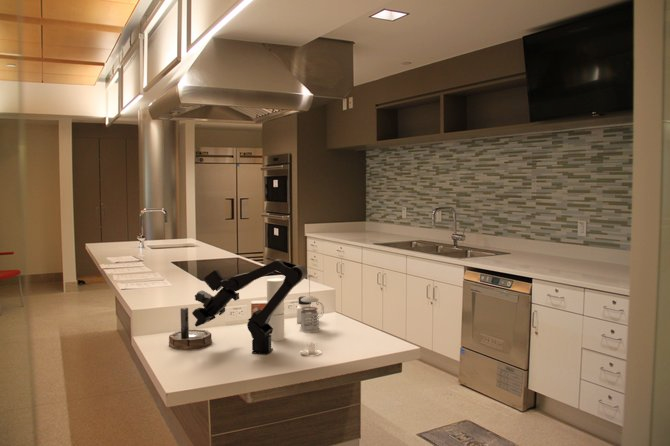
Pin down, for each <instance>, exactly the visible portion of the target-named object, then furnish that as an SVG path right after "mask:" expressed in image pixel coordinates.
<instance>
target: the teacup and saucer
mask: <svg viewBox="0 0 670 446" xmlns="http://www.w3.org/2000/svg"><path fill="white" fill-rule="evenodd" d="M306 345H307V349H304V350H302V349H301V350H300V351H299V354H300V355H302V356H307V357H310V356H311V357H315V356H319V355H322V351H321V350H320V349H317V348H318V343H316V342H314V341H309V342H306ZM315 352H318V353H317V354H316V353H315Z"/></svg>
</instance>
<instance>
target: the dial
mask: <svg viewBox="0 0 670 446" xmlns="http://www.w3.org/2000/svg"><path fill="white" fill-rule="evenodd" d="M189 325H190V324H189V307H180V331H181V333H178V334H176V335H175V336H174V337H175V338H176V339H195V338H201V337H204V336H205V335H206V333H205V332H201V331H189V330H190V329H189V328H190V327H189Z"/></svg>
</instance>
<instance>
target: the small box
mask: <svg viewBox="0 0 670 446" xmlns="http://www.w3.org/2000/svg"><path fill="white" fill-rule="evenodd" d="M250 303H251V304H250V305H251V306H250V307H251V308H250V318H251V317H252V315H253V313H254V312H255V311H257V310H259V309H260V310H261V311H262V310H263V308H264V307H265V306H266V304H267V299H266V300H264V299H263V300H260V299H259V300H251V301H250Z"/></svg>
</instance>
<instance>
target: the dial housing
mask: <svg viewBox="0 0 670 446" xmlns="http://www.w3.org/2000/svg"><path fill="white" fill-rule="evenodd" d="M189 331H201V332H205V333H206V335H205V336H204V337H201V338H195V339H176V338H175V337H174V336H175V335H176V334H178V333H181V330H179V331H175V332H173V333H171V334H169V335H168V346H169V347H170V348H171V349H175V350H196V349H200V348H205V347H207V346H209V345H211V344H212V343H213V338H212V332H210V331H208V330H206V329H194V328H193V329H189Z"/></svg>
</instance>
